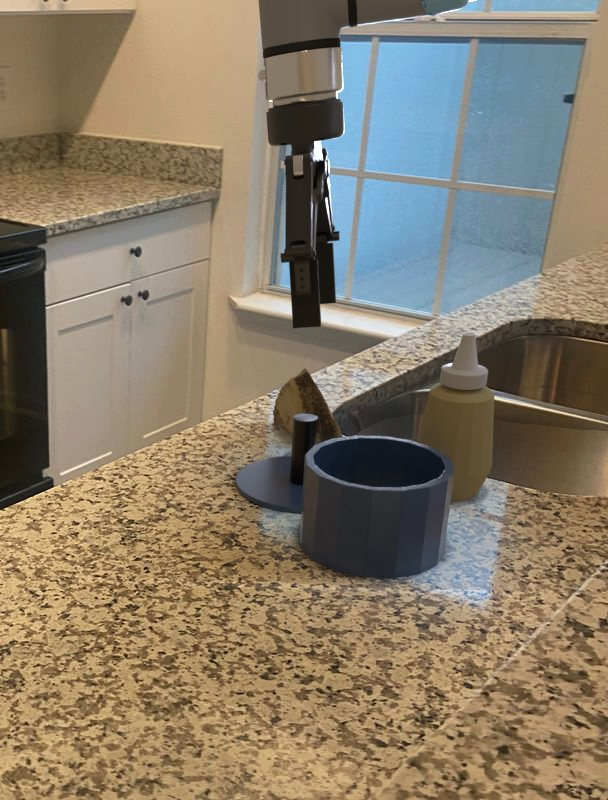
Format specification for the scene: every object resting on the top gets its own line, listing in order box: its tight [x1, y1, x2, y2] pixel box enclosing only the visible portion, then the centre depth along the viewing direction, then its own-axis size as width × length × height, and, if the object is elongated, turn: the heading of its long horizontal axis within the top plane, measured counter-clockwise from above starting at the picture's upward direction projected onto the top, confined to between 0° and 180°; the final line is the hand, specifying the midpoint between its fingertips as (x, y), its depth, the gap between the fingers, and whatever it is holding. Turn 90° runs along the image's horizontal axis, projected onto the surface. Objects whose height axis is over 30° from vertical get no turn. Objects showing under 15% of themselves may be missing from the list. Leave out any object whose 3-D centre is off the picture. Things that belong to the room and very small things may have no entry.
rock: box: [272, 367, 343, 444], centre depth 128 cm, size 11×9×10 cm
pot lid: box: [235, 413, 318, 514], centre depth 113 cm, size 15×15×9 cm
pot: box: [299, 434, 455, 580], centre depth 100 cm, size 14×14×10 cm
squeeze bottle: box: [417, 332, 495, 502], centre depth 109 cm, size 8×8×18 cm
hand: (315, 314), depth 109 cm, fingers open, 13 cm apart
